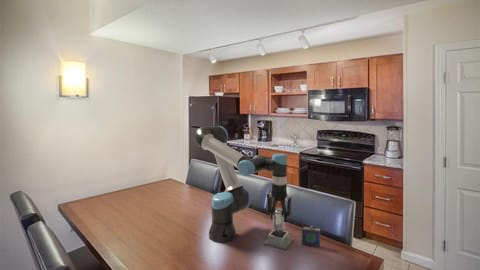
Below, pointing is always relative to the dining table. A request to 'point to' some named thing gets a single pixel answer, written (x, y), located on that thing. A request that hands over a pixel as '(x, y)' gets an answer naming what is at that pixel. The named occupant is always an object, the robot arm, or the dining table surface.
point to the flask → (310, 237)
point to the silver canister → (278, 222)
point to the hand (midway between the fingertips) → (278, 226)
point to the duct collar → (278, 240)
